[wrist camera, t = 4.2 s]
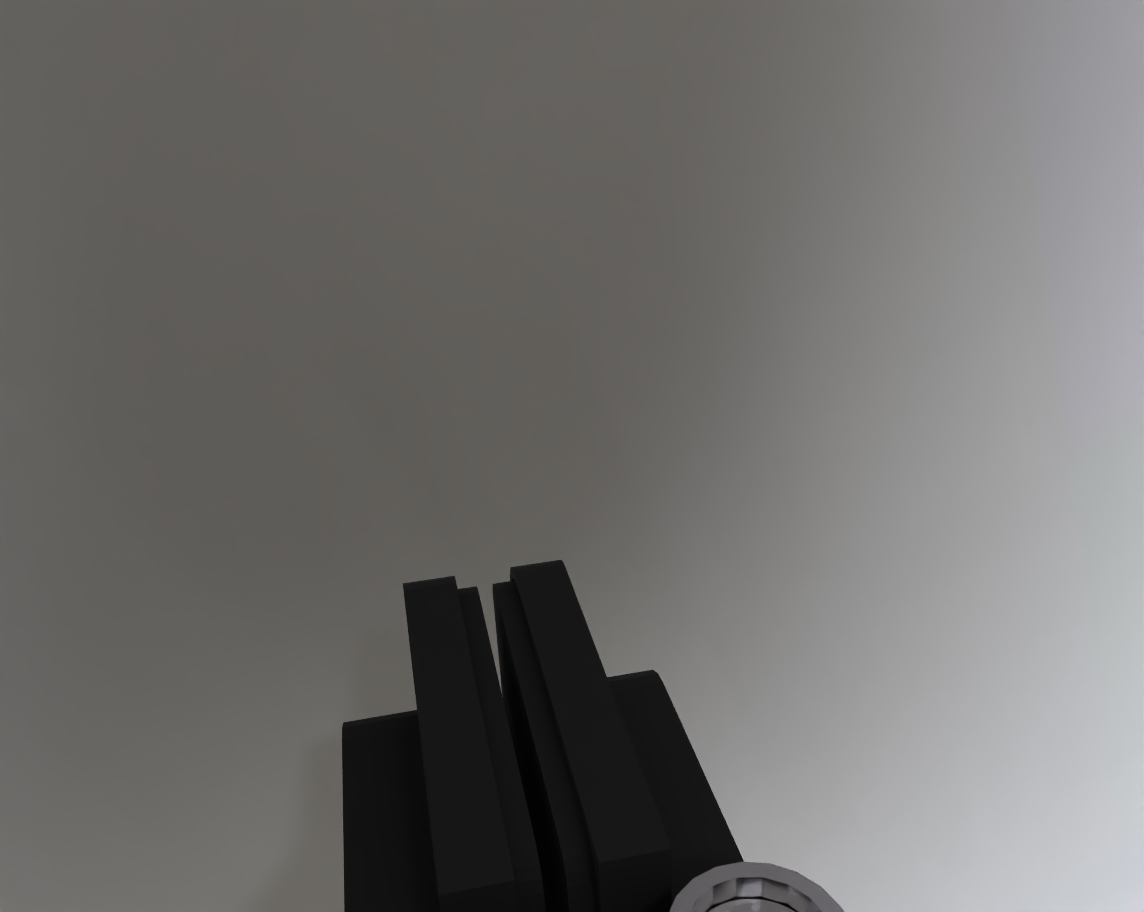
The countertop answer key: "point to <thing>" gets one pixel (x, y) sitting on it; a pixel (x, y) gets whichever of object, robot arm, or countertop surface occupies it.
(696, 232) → the countertop surface
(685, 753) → the robot arm
